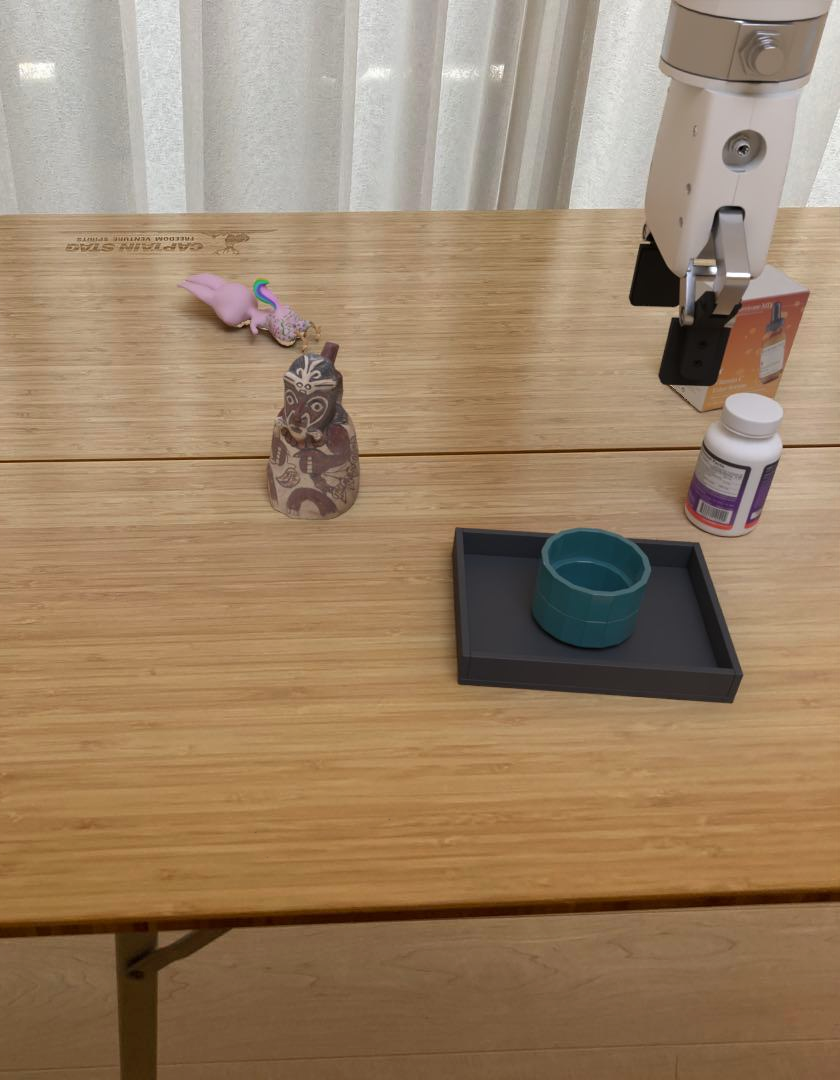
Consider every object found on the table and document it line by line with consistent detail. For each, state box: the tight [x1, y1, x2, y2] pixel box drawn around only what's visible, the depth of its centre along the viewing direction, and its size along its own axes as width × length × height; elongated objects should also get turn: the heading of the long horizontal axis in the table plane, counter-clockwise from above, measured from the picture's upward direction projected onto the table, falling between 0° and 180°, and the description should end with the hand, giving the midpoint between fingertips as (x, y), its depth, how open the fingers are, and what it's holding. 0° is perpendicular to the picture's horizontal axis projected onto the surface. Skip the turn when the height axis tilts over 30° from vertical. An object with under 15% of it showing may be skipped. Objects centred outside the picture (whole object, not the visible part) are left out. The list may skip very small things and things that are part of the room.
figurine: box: [266, 340, 361, 521], centre depth 82 cm, size 7×7×12 cm
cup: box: [531, 526, 651, 648], centre depth 72 cm, size 7×7×5 cm
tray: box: [451, 526, 744, 704], centre depth 74 cm, size 17×13×2 cm
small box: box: [672, 263, 811, 412], centre depth 95 cm, size 8×6×10 cm
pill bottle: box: [684, 393, 785, 537], centre depth 81 cm, size 5×5×10 cm
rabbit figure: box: [175, 272, 322, 346], centre depth 104 cm, size 6×6×15 cm
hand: (668, 341), depth 67 cm, fingers open, 9 cm apart
